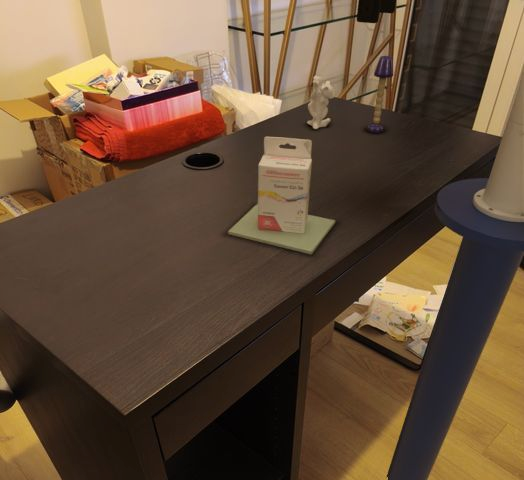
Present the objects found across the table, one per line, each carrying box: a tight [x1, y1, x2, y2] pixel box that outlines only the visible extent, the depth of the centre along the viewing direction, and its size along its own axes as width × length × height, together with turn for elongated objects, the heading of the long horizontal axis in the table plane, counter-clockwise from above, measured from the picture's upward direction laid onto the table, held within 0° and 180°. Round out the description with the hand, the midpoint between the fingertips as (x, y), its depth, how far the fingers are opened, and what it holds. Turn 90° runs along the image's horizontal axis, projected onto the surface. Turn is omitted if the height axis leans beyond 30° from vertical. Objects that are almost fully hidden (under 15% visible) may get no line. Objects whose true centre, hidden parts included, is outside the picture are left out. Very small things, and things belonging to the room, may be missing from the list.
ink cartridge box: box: [257, 135, 313, 233], centre depth 81 cm, size 9×5×15 cm, turn 79°
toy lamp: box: [366, 55, 394, 134], centre depth 119 cm, size 5×5×17 cm
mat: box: [227, 203, 336, 255], centre depth 87 cm, size 16×12×1 cm
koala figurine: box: [306, 75, 336, 130], centre depth 123 cm, size 8×7×12 cm
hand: (376, 17), depth 74 cm, fingers open, 9 cm apart
